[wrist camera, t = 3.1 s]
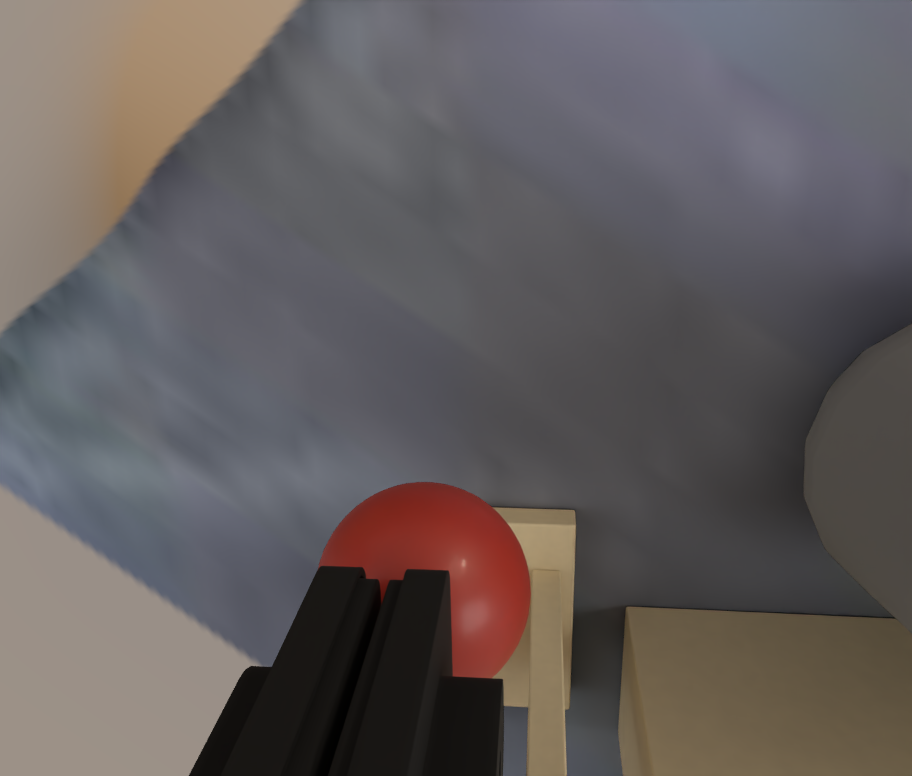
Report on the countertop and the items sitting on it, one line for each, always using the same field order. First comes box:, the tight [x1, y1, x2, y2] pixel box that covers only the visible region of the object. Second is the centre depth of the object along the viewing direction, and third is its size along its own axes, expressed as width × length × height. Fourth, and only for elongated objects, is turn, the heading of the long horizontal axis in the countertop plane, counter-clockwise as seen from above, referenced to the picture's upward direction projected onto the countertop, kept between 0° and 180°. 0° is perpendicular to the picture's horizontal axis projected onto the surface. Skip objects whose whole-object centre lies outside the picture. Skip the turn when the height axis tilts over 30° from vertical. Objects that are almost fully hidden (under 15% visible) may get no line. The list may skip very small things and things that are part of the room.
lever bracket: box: [492, 507, 576, 776], centre depth 24 cm, size 8×6×13 cm
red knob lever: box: [318, 482, 531, 678], centre depth 16 cm, size 15×3×3 cm, turn 2°
